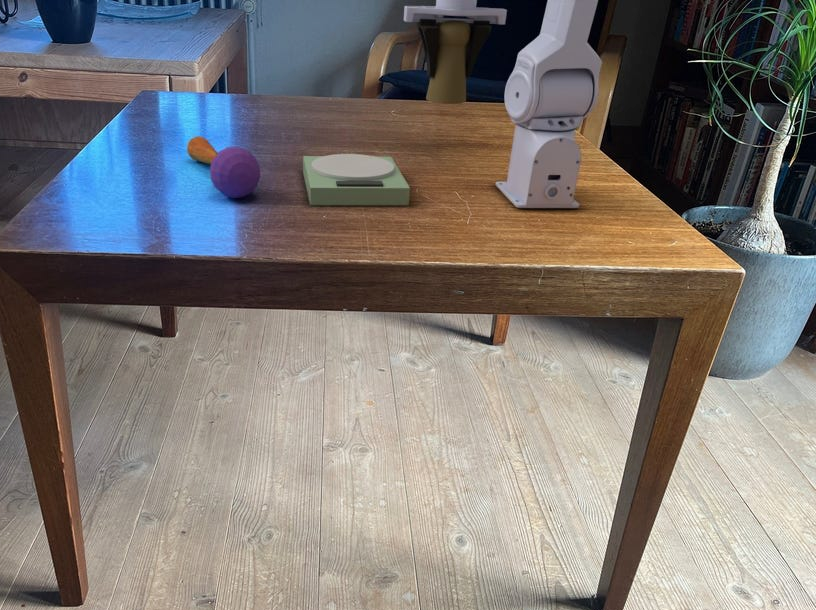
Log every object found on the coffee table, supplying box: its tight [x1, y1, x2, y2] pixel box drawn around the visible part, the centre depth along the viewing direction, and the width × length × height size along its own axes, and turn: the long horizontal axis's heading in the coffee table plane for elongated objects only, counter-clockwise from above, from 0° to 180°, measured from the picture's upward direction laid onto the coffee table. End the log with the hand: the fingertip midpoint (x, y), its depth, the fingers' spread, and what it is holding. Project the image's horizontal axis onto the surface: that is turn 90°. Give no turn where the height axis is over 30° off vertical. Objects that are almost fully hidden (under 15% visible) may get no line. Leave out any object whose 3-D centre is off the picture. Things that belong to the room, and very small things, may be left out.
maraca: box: [186, 136, 261, 199], centre depth 94 cm, size 6×6×20 cm
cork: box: [425, 20, 471, 105], centre depth 109 cm, size 6×6×11 cm
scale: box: [302, 153, 411, 206], centre depth 94 cm, size 14×12×3 cm
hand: (448, 76), depth 110 cm, fingers closed on cork, 5 cm apart
